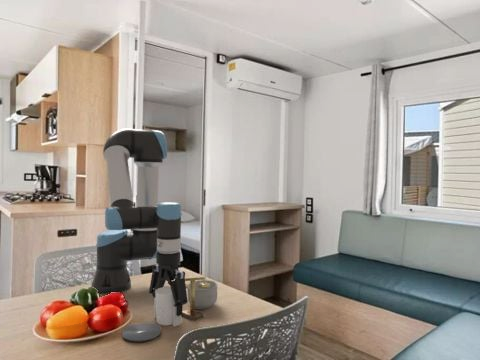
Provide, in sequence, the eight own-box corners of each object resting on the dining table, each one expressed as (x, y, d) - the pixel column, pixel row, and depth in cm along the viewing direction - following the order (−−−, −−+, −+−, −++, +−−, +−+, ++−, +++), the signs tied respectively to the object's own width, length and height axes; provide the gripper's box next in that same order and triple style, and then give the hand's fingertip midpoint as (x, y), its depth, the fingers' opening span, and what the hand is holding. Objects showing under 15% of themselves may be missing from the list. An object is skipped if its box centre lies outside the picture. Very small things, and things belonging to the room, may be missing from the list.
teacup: (212, 313, 123) (212, 290, 123) (182, 310, 126) (182, 287, 125) (222, 299, 137) (222, 278, 137) (195, 296, 139) (195, 275, 139)
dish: (114, 334, 106) (114, 330, 106) (146, 323, 114) (146, 319, 114) (136, 347, 99) (136, 343, 99) (168, 334, 107) (168, 330, 107)
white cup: (168, 314, 122) (169, 284, 122) (184, 320, 117) (185, 290, 117) (149, 321, 116) (150, 290, 115) (165, 328, 111) (165, 296, 110)
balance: (173, 312, 124) (174, 270, 123) (182, 308, 127) (182, 268, 126) (203, 324, 114) (204, 279, 114) (211, 320, 117) (212, 276, 117)
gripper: (138, 247, 120) (137, 314, 120) (182, 259, 106) (180, 335, 106) (157, 244, 125) (156, 308, 126) (200, 254, 111) (199, 326, 112)
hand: (167, 320), depth 116 cm, fingers open, 9 cm apart
